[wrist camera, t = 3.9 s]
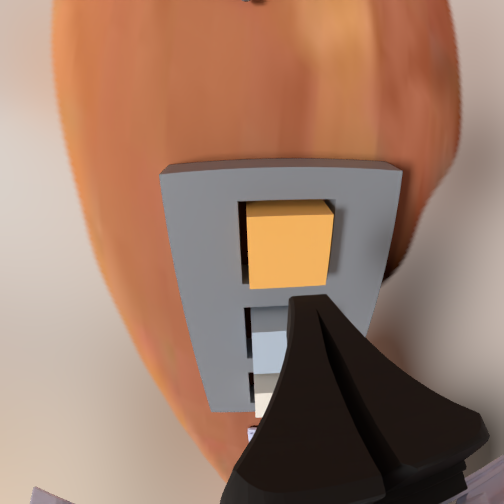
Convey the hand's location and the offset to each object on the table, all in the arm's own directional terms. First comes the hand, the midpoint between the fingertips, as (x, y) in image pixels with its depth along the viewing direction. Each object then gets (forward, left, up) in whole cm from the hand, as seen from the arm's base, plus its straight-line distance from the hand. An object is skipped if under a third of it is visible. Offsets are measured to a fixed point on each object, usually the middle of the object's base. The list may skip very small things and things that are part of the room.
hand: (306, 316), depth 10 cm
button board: (-6, 0, -7) cm, 10 cm away
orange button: (0, 0, -7) cm, 7 cm away
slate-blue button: (-6, 0, -6) cm, 9 cm away
